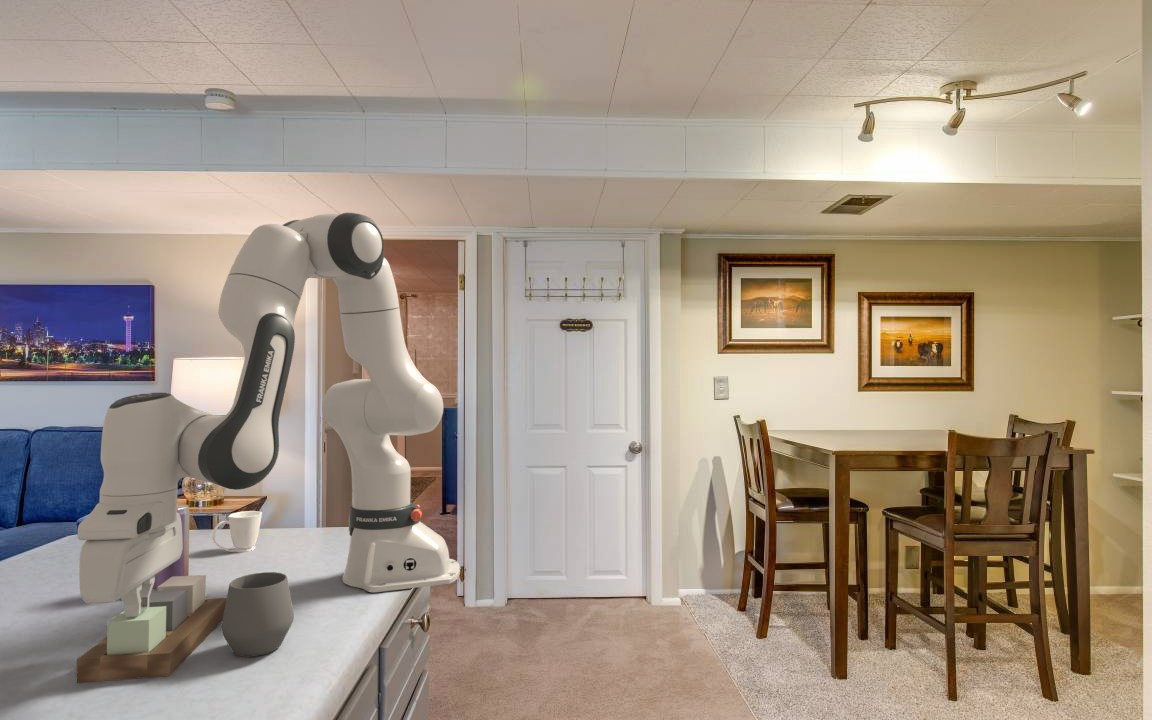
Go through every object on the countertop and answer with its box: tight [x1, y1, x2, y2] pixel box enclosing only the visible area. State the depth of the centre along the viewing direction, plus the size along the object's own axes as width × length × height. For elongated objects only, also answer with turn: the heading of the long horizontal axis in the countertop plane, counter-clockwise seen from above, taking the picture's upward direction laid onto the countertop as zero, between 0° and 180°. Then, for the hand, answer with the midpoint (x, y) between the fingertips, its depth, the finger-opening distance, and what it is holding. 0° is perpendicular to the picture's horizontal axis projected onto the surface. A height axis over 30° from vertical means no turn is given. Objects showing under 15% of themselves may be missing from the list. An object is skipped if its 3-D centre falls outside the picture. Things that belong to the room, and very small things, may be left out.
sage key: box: [106, 606, 166, 655], centre depth 87 cm, size 5×5×4 cm
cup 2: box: [220, 571, 295, 658], centre depth 93 cm, size 10×9×10 cm
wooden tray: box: [76, 597, 227, 683], centre depth 94 cm, size 11×21×3 cm, turn 10°
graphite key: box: [149, 590, 187, 632], centre depth 94 cm, size 5×5×4 cm
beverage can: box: [152, 503, 191, 591], centre depth 119 cm, size 6×6×15 cm
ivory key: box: [157, 574, 207, 613], centre depth 101 cm, size 5×5×4 cm
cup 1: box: [212, 510, 263, 553], centre depth 143 cm, size 7×10×8 cm
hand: (136, 613), depth 87 cm, fingers closed
